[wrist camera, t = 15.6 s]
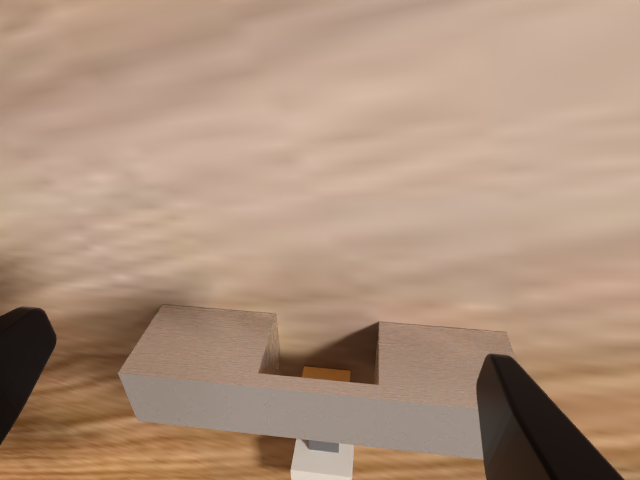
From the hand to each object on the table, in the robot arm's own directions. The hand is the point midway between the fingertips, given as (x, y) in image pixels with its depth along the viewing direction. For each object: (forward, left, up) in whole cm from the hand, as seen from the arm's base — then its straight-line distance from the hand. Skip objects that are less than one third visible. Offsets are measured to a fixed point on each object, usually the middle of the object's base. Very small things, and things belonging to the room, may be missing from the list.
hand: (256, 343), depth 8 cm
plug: (-8, -18, -12) cm, 23 cm away
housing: (-5, -11, -12) cm, 17 cm away
